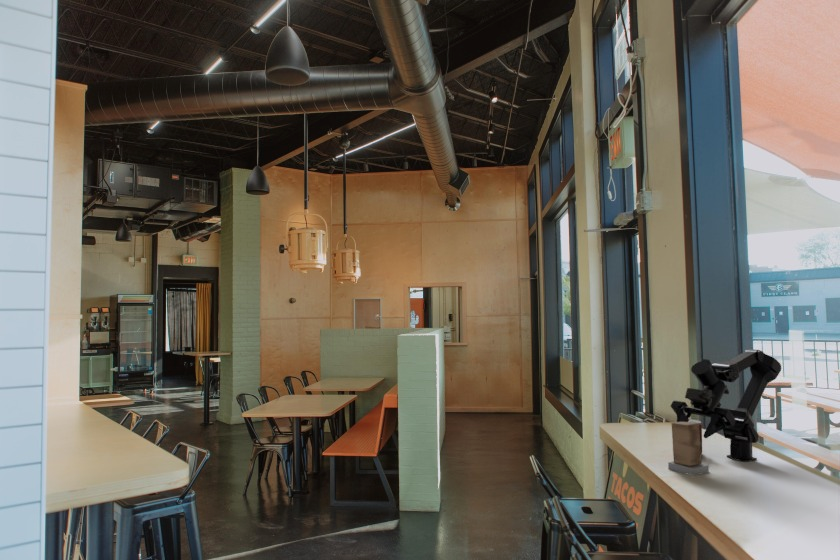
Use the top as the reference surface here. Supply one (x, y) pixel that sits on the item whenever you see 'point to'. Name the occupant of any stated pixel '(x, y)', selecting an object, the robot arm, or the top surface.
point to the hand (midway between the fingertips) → (690, 434)
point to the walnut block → (686, 443)
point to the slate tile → (689, 468)
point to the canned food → (699, 430)
